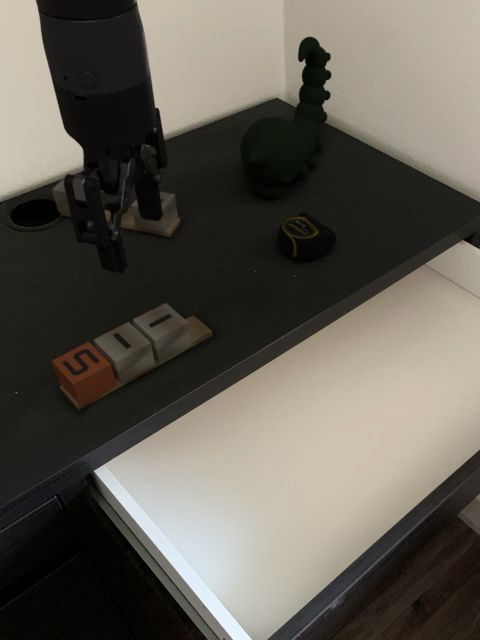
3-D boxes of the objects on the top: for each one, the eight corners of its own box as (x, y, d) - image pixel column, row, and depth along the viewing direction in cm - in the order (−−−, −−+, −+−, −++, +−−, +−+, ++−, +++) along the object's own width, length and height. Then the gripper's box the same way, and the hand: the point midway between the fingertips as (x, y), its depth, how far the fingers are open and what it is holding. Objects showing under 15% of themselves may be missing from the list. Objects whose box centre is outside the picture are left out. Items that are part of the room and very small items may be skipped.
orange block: (80, 406, 70) (72, 383, 68) (59, 383, 73) (50, 359, 70) (117, 386, 72) (110, 363, 70) (95, 363, 75) (88, 340, 72)
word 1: (59, 216, 95) (51, 189, 92) (75, 200, 98) (68, 172, 94) (169, 238, 92) (164, 211, 89) (181, 221, 95) (178, 193, 91)
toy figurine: (287, 146, 113) (220, 208, 96) (293, 23, 100) (216, 69, 83) (339, 158, 111) (279, 224, 94) (352, 33, 98) (285, 84, 81)
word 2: (80, 412, 71) (70, 384, 68) (59, 389, 73) (48, 361, 70) (214, 337, 79) (211, 309, 76) (192, 318, 81) (188, 290, 78)
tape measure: (337, 252, 91) (339, 229, 88) (298, 271, 88) (299, 248, 85) (306, 229, 94) (307, 206, 91) (267, 246, 91) (267, 223, 88)
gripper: (96, 28, 56) (128, 197, 68) (7, 101, 47) (63, 281, 59) (179, 39, 55) (197, 209, 67) (105, 115, 46) (141, 296, 58)
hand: (134, 243), depth 63 cm, fingers open, 8 cm apart
